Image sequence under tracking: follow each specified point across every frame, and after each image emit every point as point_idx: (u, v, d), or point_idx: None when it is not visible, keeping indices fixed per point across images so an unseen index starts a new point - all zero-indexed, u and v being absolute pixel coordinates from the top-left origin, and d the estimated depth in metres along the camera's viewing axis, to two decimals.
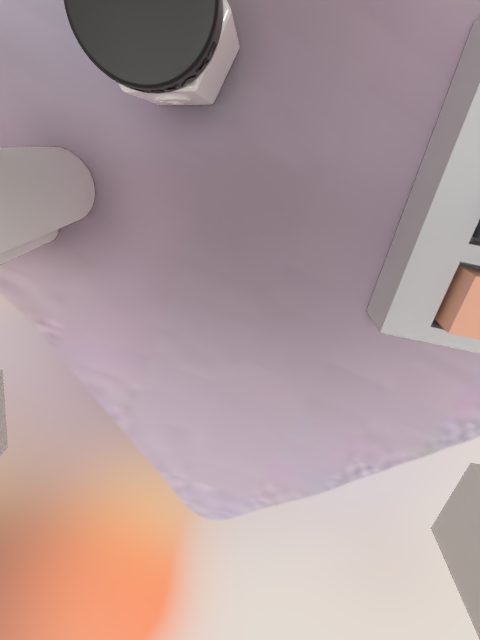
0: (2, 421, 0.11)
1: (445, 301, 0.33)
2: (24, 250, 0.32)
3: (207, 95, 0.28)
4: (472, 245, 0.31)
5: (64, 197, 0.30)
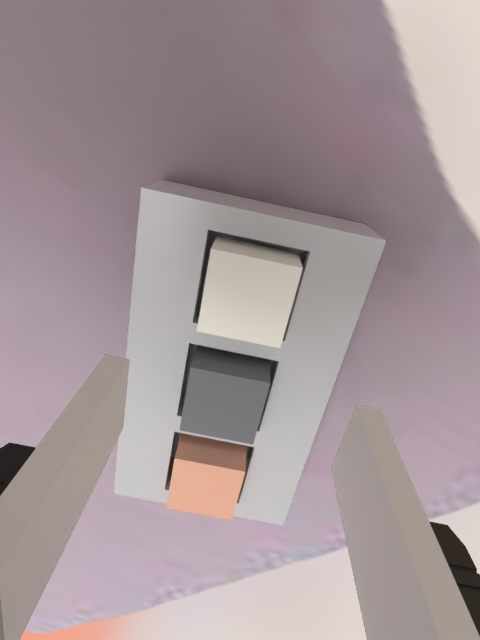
0: (124, 404, 0.12)
1: None
2: None
3: None
4: (181, 417, 0.28)
5: None
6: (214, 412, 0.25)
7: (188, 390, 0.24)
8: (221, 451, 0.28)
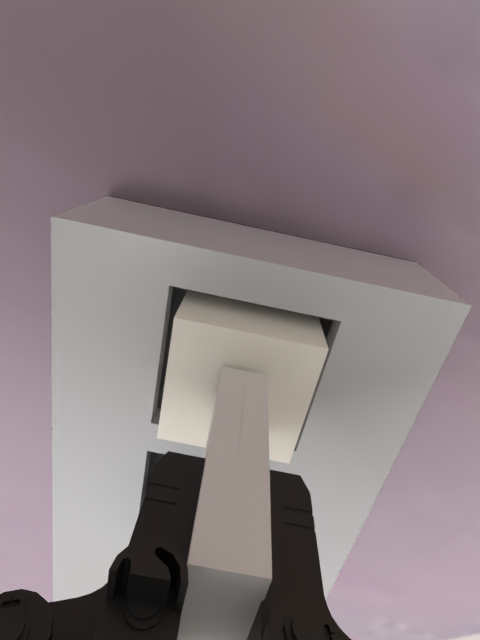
0: None
1: None
2: None
3: None
4: None
5: None
6: None
7: None
8: None
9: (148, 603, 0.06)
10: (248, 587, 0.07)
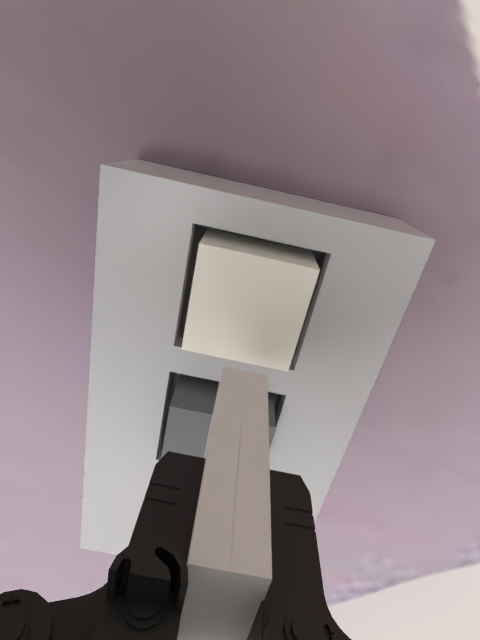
0: None
1: None
2: None
3: None
4: None
5: None
6: None
7: (167, 435, 0.19)
8: None
9: (148, 603, 0.06)
10: (248, 587, 0.07)
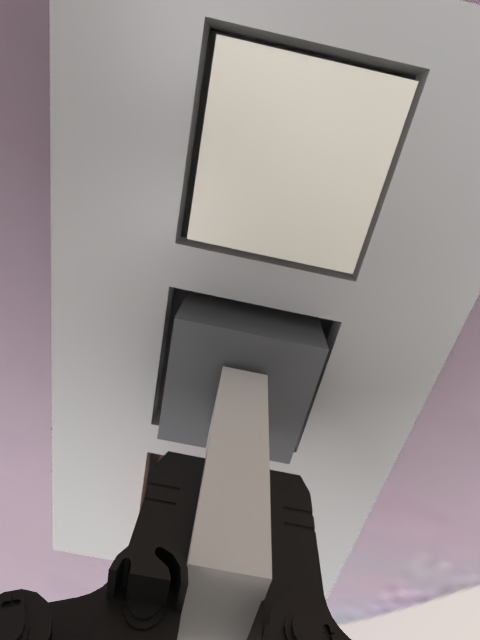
0: None
1: None
2: None
3: None
4: None
5: None
6: None
7: (171, 364, 0.13)
8: None
9: (148, 603, 0.06)
10: (248, 587, 0.07)
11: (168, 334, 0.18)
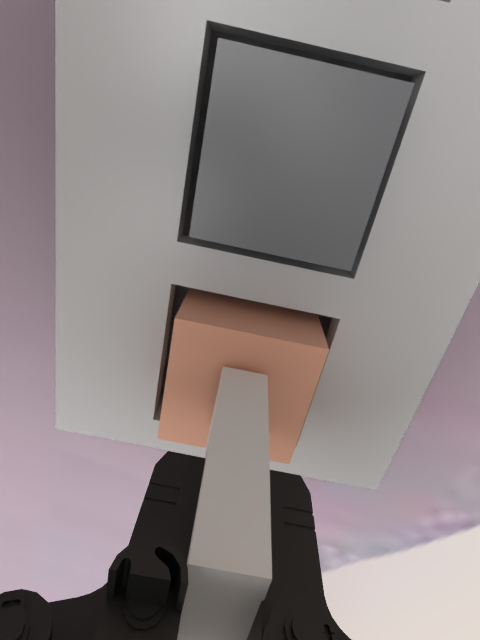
0: None
1: None
2: None
3: None
4: (187, 245, 0.13)
5: None
6: (270, 180, 0.11)
7: (211, 116, 0.10)
8: (271, 318, 0.14)
9: (148, 603, 0.06)
10: (248, 587, 0.07)
11: (193, 168, 0.16)
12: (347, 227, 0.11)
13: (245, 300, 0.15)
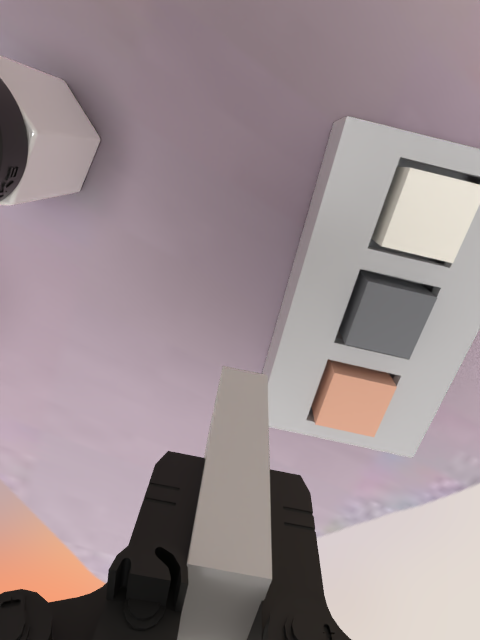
0: None
1: (318, 389, 0.33)
2: None
3: (52, 194, 0.27)
4: (338, 344, 0.30)
5: None
6: (380, 325, 0.28)
7: (361, 304, 0.28)
8: (369, 371, 0.31)
9: (148, 603, 0.06)
10: (248, 587, 0.07)
11: None
12: (409, 343, 0.28)
13: None
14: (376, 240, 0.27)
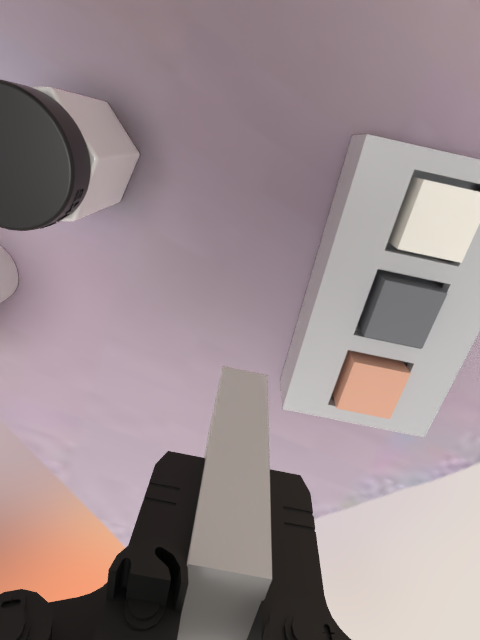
0: None
1: (338, 376, 0.37)
2: None
3: (101, 208, 0.30)
4: (357, 336, 0.33)
5: None
6: (396, 319, 0.31)
7: (379, 300, 0.31)
8: (385, 360, 0.35)
9: (148, 603, 0.06)
10: (248, 587, 0.07)
11: None
12: (422, 334, 0.32)
13: None
14: (392, 243, 0.30)
